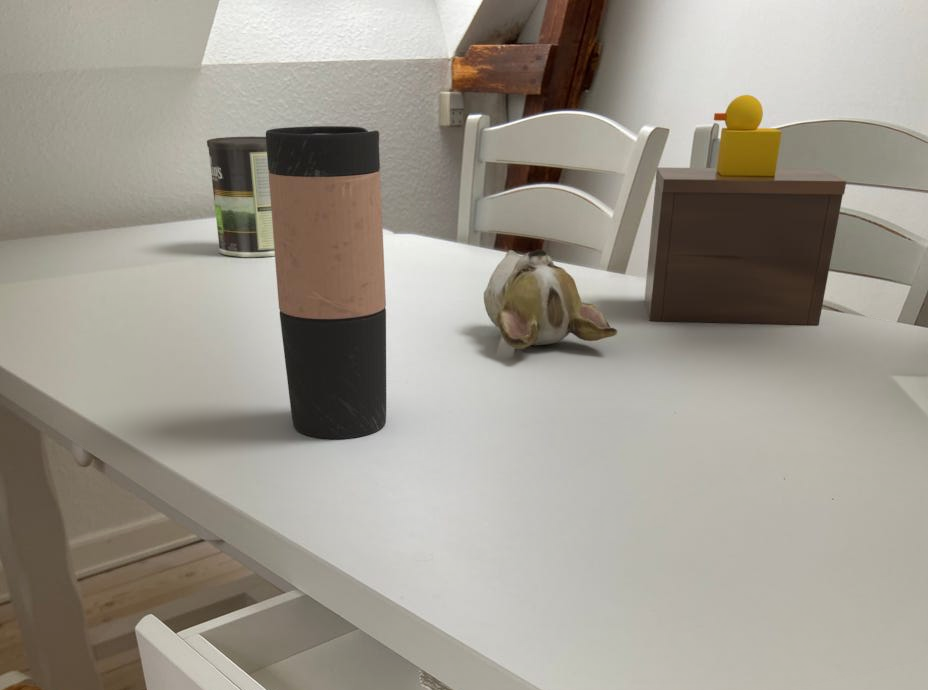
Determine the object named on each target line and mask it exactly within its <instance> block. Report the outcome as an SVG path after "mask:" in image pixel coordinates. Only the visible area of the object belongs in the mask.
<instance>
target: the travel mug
mask: <svg viewBox="0 0 928 690" xmlns="http://www.w3.org/2000/svg"><path fill="white" fill-rule="evenodd" d="M265 137H266V147H267V160H268V170H269V186H270V199H271V212H272V225H273V237H274V250H275V256H274V263H275V274H276V288H277V300H278V310H279V321H280V328H281V329H280V330H281V337H282V346H283V354H284V362H285V373H286V378H287V379H286V380H287V389H288V398H289V405H290V414H291V419H292V425H293V427H294V430H296V431H297V432H298V433H300V434H301V435H305V436H308V437H311V438H318V439H329V440H330V439H332V440H333V439H334V440H337V439H353V438H358V437H364V436H367V435H371V434H374V433H376V432H378V431H380V430H382V429H383V428H384V427H385V426H386V422H387V309H386V306H387V299H386V298H387V297H386V296H387V295H386V277H385V275H386V273H385V254H384V253H385V251H384V227H383V226H384V225H383V208H382V184H381V181H382V180H381V160H380V159H381V158H380V157H381V156H380V132H379V130H370V131H369V130H367V128H365V127H361V126H347V125H315V126H314V125H311V126H292V127H291V126H290V127H289V126H288V127H276V128H270V129H268V130H266V131H265Z"/></svg>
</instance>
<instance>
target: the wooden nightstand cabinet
mask: <svg viewBox="0 0 928 690" xmlns="http://www.w3.org/2000/svg"><path fill="white" fill-rule="evenodd" d="M846 185H847V181H846V180H845V179H843V178H841V177H840V176H837V175H835V174H832V173H831V172H829V171H827V170H825V169H823V168H776V173H775V176H722V175H721V174H719V173H718V172H717V167H656V170H655V185H654V195H653V204H652V205H653V206H652V217H651V226H650V227H651V228H650V238H649V245H648V246H649V247H648V248H649V249H648V258H647V269H646V279H645V290H644V303H645V308H646V313H647V317H648V320H649V321H650V322H674V323H675V322H677V323H678V322H679V323H716V324H717V323H719V324H721V323H722V324H755V325H756V324H760V325H762V324H763V325H798V326H800V325H801V326H820V321H821V317H822V316H821V315H822V310H823V303H824V300H825V299H824V298H825V293H826V289H827V282H828V277H829V271H830V268H831V267H830V266H831V260H832V255H833V251H834V245H835V238H836V234H837V230H838V223H839V218H840V213H841V206H842V201H843V196H844V195H845V192H846V187H847V186H846Z"/></svg>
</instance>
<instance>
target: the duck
mask: <svg viewBox="0 0 928 690" xmlns="http://www.w3.org/2000/svg"><path fill="white" fill-rule="evenodd" d="M763 115H764V110H763V106H762V103H761V102H760V100H759V99H758V98H756V97H755V96H753V95H751V94H742V95H740V96H737V97H735V98H734V99H733V100H731V102H730V103H729V104H728V106H727V107H726V110H725V112H715V113H714V114H713V120H714V121H719V122H721V121H724V123H725V127H721V131H720V141H719V147H718V156H717V163H716V168H717V172H718V173H719V174H721V175H722V176H775V173H776V169H777V165H778V159H779V153H780V146H781V139H782V131H781V130H779V129H778V128H774V127H760V125H761V123H762V120H763Z"/></svg>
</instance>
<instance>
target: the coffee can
mask: <svg viewBox="0 0 928 690" xmlns="http://www.w3.org/2000/svg"><path fill="white" fill-rule="evenodd" d="M206 145H207V149H208V155H209V156H208V157H209V165H210V175H211V183H212V193H213V203H214V209H215V219H216V220H215V221H216V227H217V228H216V229H217V237H218V252H219V253H220V254H221V255H222V256H227V257H236V258H269V257H275V250H274V237H273V225H272V212H271V199H270V186H269V170H268V160H267V147H266V136H226V137H225V136H224V137H215V138H209V139H208V140H206Z"/></svg>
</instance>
